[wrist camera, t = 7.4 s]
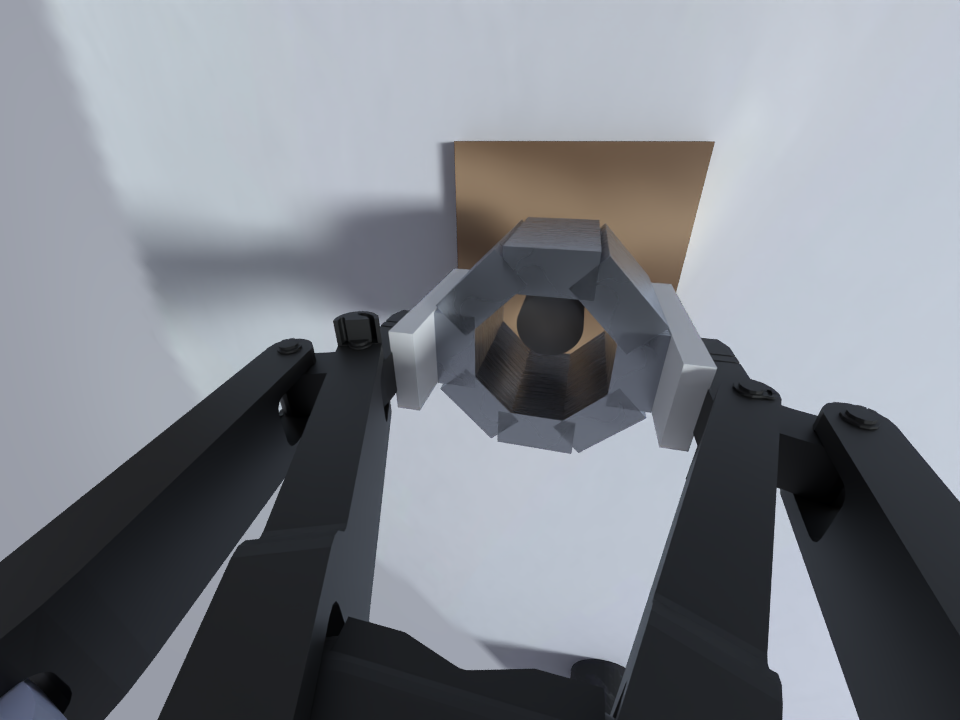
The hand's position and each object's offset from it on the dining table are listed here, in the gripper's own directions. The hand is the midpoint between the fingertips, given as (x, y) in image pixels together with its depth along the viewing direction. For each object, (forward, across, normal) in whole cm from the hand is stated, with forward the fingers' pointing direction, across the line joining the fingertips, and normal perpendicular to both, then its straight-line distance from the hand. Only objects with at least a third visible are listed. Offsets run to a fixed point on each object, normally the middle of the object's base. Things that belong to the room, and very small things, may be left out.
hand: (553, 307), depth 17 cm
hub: (0, 0, 0) cm, 0 cm away
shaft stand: (+7, 0, 0) cm, 7 cm away
